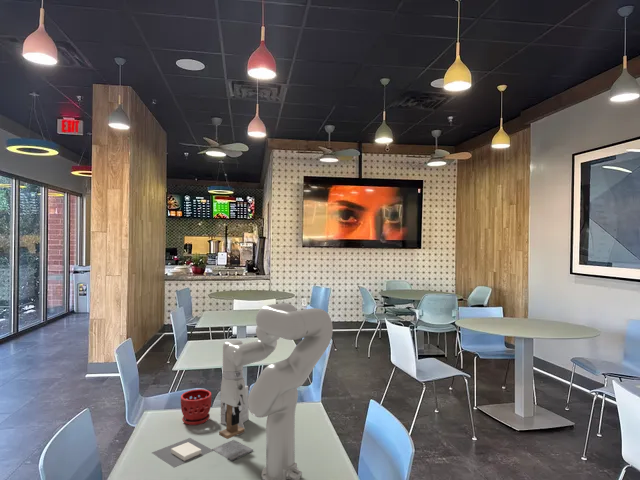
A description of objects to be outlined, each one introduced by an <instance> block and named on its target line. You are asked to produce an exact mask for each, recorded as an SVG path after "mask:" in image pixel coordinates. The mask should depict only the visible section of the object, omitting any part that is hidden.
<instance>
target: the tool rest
mask: <svg viewBox="0 0 640 480" xmlns="http://www.w3.org/2000/svg"><path fill="white" fill-rule="evenodd" d="M212 450H214V452H215V453H217V454H220V456H222V457H225V458H226V459H227V460H229V461H230V462H233V461H235V460H237V459H240V458H242V457H244V456H246V455H248V454H250V453H253V452H254V449H253V448H251V447H249V446H247V445H245V444H243V443H241V442H239V441H237V440H234V439H233V440H230V441H227V442H225V443H223V444H220V445H218V446H216V447H214V448H213V447H212Z"/></svg>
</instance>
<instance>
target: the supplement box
mask: <svg viewBox="0 0 640 480" xmlns="http://www.w3.org/2000/svg"><path fill="white" fill-rule="evenodd" d="M245 391H246V403H245V404H244V407H245V409H244V410H241V411H240V417H241V420H242V422H243V424H244V423H246V422H247V421H248V420H249V412H250V410H249V408H248V396H249V386H248V385H245ZM220 424H223V425H226V422H225V410H224V405H223V403H222V402H221V401H220Z"/></svg>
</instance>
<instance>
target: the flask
mask: <svg viewBox="0 0 640 480" xmlns="http://www.w3.org/2000/svg"><path fill="white" fill-rule="evenodd" d="M238 426H240V427H242V428H244V429H245V430H246V428H245V425H244V423H243V422H242V420H241V417H240V413H239V423H238ZM244 433H245V432H243V433H241V434H238V435H239V436H240V435H243V434H244ZM238 435H237V436H238Z"/></svg>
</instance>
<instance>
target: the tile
mask: <svg viewBox="0 0 640 480" xmlns="http://www.w3.org/2000/svg"><path fill="white" fill-rule="evenodd" d="M171 453H172V454H174V455H175V456H177V457H179V458H180V459H182V460H184V461H185V460H188V459H190V458H192V457H195V456H197V455H199V454H201V449H200V448H198V447H196V446H194V445H192V444H191V443H189V442H187V443H184V444H182V445H179V446H177V447H174V448H172V449H171Z"/></svg>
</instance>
